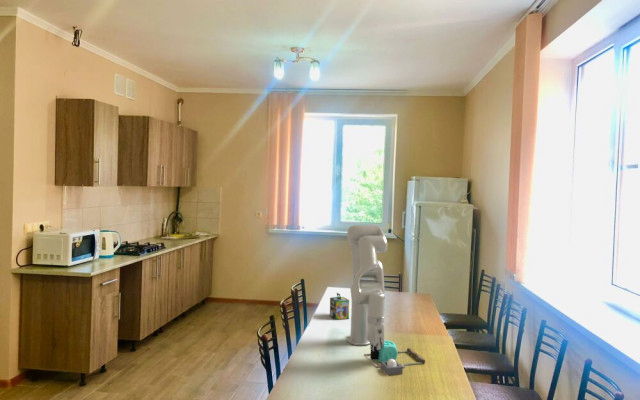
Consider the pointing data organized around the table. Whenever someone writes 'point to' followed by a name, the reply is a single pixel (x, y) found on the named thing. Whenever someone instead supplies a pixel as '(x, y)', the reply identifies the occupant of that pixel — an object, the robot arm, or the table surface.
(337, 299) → the chalk box
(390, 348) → the decorative dice
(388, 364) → the white ball
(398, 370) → the collar
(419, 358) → the lane
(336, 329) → the table surface
